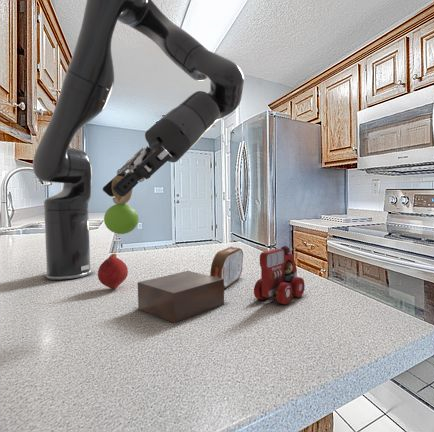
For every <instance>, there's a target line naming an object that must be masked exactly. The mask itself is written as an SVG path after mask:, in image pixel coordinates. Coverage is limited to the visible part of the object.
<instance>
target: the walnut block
mask: <svg viewBox="0 0 434 432" xmlns="http://www.w3.org/2000/svg"><path fill="white" fill-rule="evenodd" d="M223 305H225V288H224V279H222V278H218V277H213V276H210V274H209V275H208V274H204V273H200V272H194V271H192V270H191V271H190V270H186V271H182V272H181V271H180V272H176V273H172V274H168V275H164V276H159V277H155V278H151V279H146V280H142V281H138V282H137V306H138V307H137V308H138V310H140V311H143V312H145V313H148V314H150V315H153V316H155V317H157V318H161V319H163V320H166V321H169V322H171V323H173V324H175V323H178V322H181V321H183V320H186V319H189V318H191V317H194V316H196V315H199V314H202V313H205V312H207V311H210V310H213V309H215V308H218V307H220V306H223Z"/></svg>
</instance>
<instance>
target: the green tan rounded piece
mask: <svg viewBox="0 0 434 432" xmlns="http://www.w3.org/2000/svg"><path fill="white" fill-rule="evenodd" d="M133 167H134V166H131V168H133ZM127 168H130V165H128V166H127ZM127 173H129V174H131V173H130V172H129V171H128V172H126V174H127ZM115 176H116V175H115ZM115 176H114V177H115ZM114 177H113V178H114ZM113 178H112V179H113ZM122 178H123V177H122V176H116V177H115V178H114V179H113V181H112V186H111V188H112V187H113V186H114V185H115V184H116V183H117V182H118V181H119V180H120V179H122ZM133 190H134V187H133V188H132V189H131V190H130V191H129V192H128V193H127V194H126V195H125V196H119V195H118V194H117V193H116V192H114V191H113V190H112V193H113V195H114V196H113V197H112V202H113V203H114V204H113V205H112V206H110V207H109V208H107V210H106V211H105V213H104V216H103V222H104V225H105V227H106V228H107V229H108V231H110V232H112V233H114V234H118V235H125V234H128V233H131V232H133V231H134V230H135V229H136V228H137V226H138V224H139V213H138V212H137V210H136V209H135V208H134V207H133V206H132V205H129V204H127V203H128V202H129V201H131V198H132V195H133Z"/></svg>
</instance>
